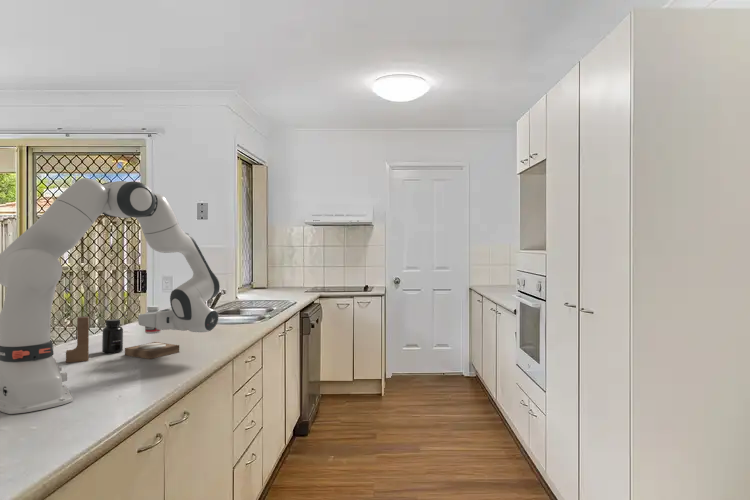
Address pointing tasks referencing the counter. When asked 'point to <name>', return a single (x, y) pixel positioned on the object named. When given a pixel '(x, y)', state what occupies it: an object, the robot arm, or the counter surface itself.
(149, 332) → the pill bottle
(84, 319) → the wooden block
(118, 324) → the supplement bottle
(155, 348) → the walnut base
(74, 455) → the counter surface
